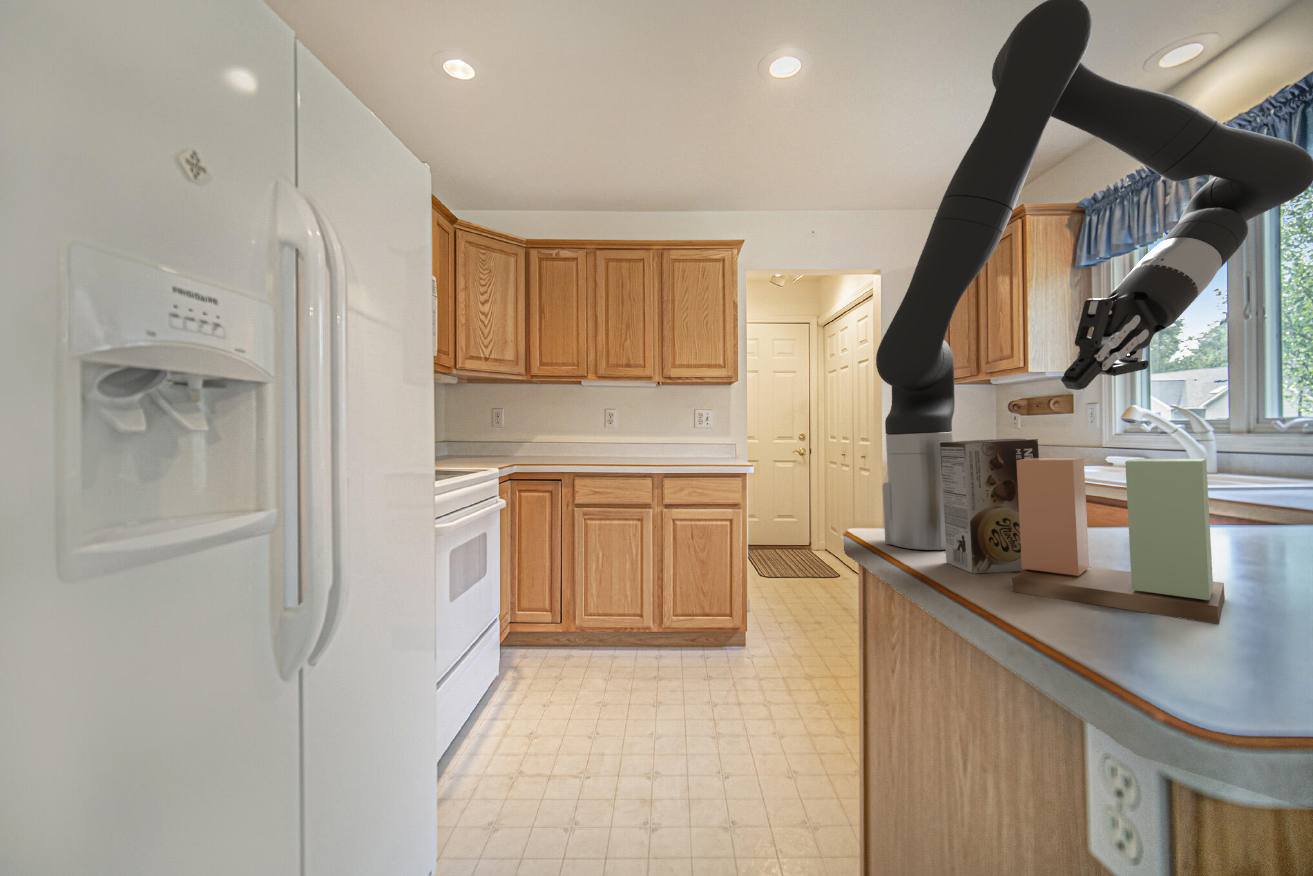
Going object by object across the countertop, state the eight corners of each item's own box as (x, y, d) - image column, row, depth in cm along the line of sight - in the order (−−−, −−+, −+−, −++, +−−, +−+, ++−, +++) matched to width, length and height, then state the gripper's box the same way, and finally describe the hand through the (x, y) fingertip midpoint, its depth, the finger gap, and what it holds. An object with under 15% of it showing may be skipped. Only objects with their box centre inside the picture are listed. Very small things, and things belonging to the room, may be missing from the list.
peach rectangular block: (1021, 568, 58) (1016, 460, 58) (1034, 560, 62) (1029, 458, 62) (1078, 575, 55) (1072, 460, 55) (1089, 567, 58) (1083, 457, 58)
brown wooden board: (1012, 591, 56) (1012, 577, 56) (1039, 573, 63) (1038, 561, 63) (1218, 624, 45) (1217, 606, 45) (1224, 598, 51) (1223, 582, 51)
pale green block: (1131, 589, 49) (1125, 461, 49) (1140, 579, 52) (1134, 458, 53) (1209, 600, 45) (1202, 461, 46) (1213, 588, 49) (1206, 458, 49)
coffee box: (1012, 559, 70) (1006, 438, 70) (1048, 571, 63) (1041, 437, 64) (943, 562, 70) (937, 441, 70) (971, 574, 64) (965, 440, 64)
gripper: (1176, 241, 61) (1075, 352, 62) (1218, 321, 66) (1123, 424, 66) (1109, 249, 68) (1019, 348, 69) (1150, 320, 73) (1065, 413, 73)
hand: (1070, 385), depth 67 cm, fingers closed
